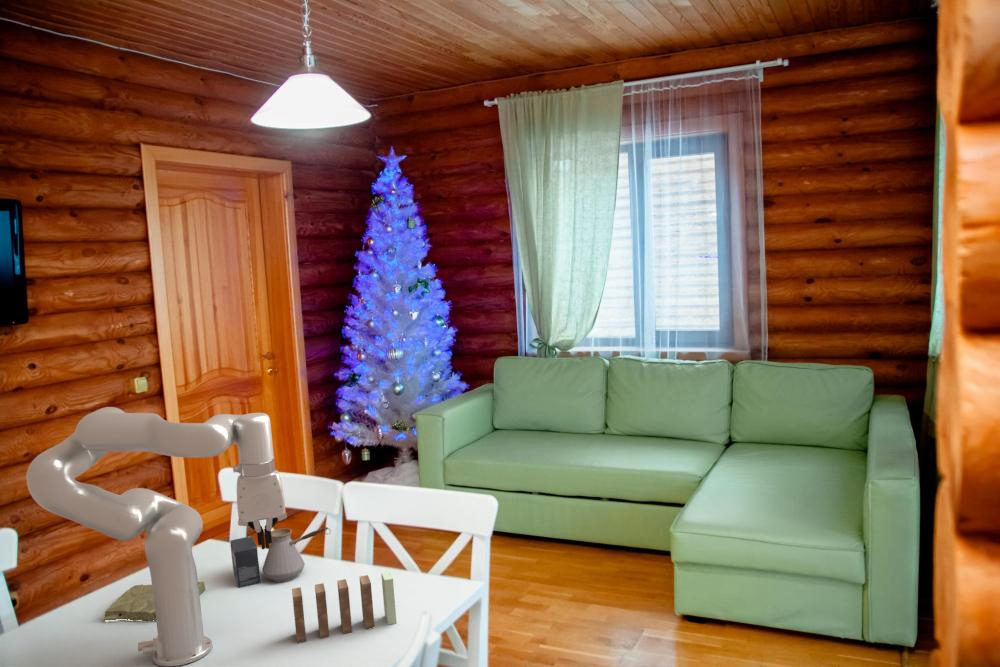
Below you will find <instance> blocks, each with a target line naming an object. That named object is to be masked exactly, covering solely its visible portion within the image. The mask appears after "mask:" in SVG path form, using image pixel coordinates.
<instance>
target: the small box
mask: <svg viewBox="0 0 1000 667" xmlns="http://www.w3.org/2000/svg"><path fill="white" fill-rule="evenodd" d="M230 552H231V564H232V571H233V575H234V578H235V582H236V584H237V588H238V589H241V588H245V587H250V586H254V585H258V584H261V583H262V578H261V571H260V563H259V557H258V556H259V554H258V546H257V544H256V541H255V540H254V537H253V536H252V535H250V536H245V537H241V538H235V539H232V540H230Z"/></svg>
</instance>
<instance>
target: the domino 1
mask: <svg viewBox="0 0 1000 667" xmlns="http://www.w3.org/2000/svg"><path fill="white" fill-rule="evenodd" d="M291 594H292V604H293V613H294V614H293V616H294V625H295V626H294V627H295V633H296V634H295V635H296V641H297V642H296V643H297V644H301V643H306V642H307V633H306V623H305V612H304V604H303V603H304V602H303V594H302V588H301V587H296V588H294V587H293V588H292V589H291ZM305 641H306V642H305Z"/></svg>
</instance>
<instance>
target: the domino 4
mask: <svg viewBox="0 0 1000 667" xmlns="http://www.w3.org/2000/svg"><path fill="white" fill-rule="evenodd" d="M358 577H359V578H358V579H359V589H360V599H361V613H362V622H363V621H364V622H363V624H364V627H366V628H365V630H370V629H369V628H371V629H374V628H373V627H375V618H374V616H375V615H374V606H373V604H374V602H373V592H372V582H371V579H370V578H369V575H368V574H367V575H361V576H358Z"/></svg>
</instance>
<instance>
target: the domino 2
mask: <svg viewBox="0 0 1000 667" xmlns="http://www.w3.org/2000/svg"><path fill="white" fill-rule="evenodd" d="M314 590H315V604H316V613H317V614H316V615H317V623H318V632H319V637H321V638H320V639H325V637H326V638H330V629H329V626H330V625H329V618H328V617H329V616H328V604H327V594H326V588H325V584H324V582H322V583H318V584H314Z"/></svg>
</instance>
